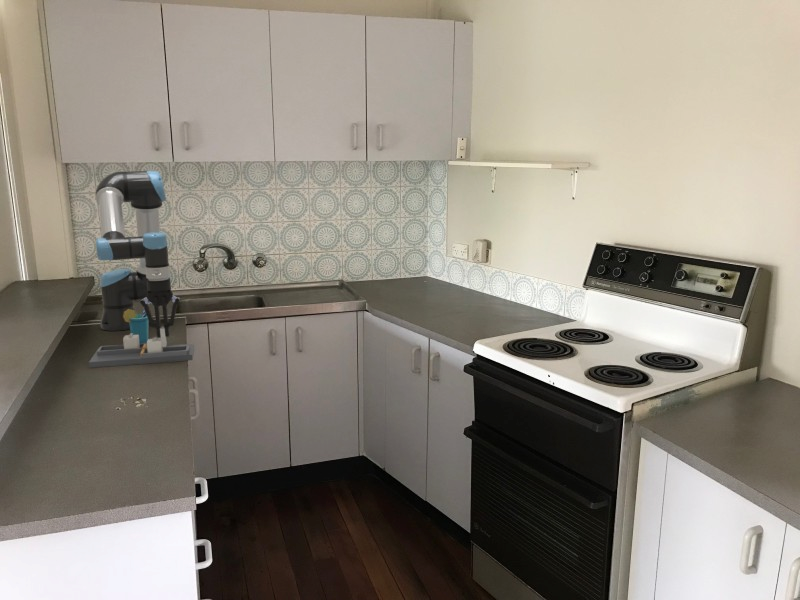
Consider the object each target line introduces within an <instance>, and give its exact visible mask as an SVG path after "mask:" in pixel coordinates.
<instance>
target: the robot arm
mask: <svg viewBox="0 0 800 600" xmlns="http://www.w3.org/2000/svg"><path fill="white" fill-rule="evenodd" d="M166 200H167V197H166V192H165V187H164V182H163V179H162V174H161V173H160V172H158V171H156V170H155V171H154V170H137V171H135V170H133V171H132V170H131V171H129V170H127V171H123V170H122V171H121V170H120V171H115V172H112V173H109V174H108V175H106V176H105V177H104V178H103V179H101V181H100V182H99V184H98V185H97V187H96V189H95V201H96V203H97V205H98V206H99V220H100V232H101V238H97V239H96V240H95V249H96V257H97V259H98V260H100V261H119V260H132V259H135V260H136V259H139V264H138V266H137V267H136V272H135V271H133V272H132V270H131V269H130V268H119V269H115V270H110V271H107V272H104V273H103V274H102V275H101V276H100V288H101V297H102V305H103V306H102V307H103V309H102V315H101V318H100V330H103V331H109V332H110V331H111V332H115V331H116V332H117V331H125V330H130V325H129V322H125V321H124V319H123V314H124V312H125V311H126V310H128V309H131V310H135V312H136V314H138V312H137V311H136V308H135V301H139V303H140V305H141V306H142V307H143V310H144V309H145V314H147V317H148V320H149V325H150V328H155V329H156V337H157V338H161V346H162V347H166V346H168V345H167V344H168V343H167V338H168V337H169V335H170V329H169V327H173V325H174V323H175V318H176V313H177V307H178V304H179V302H180V300H181V298H180V297H179V296H178V297H177V296H175V295H174V293H173V291H172V285H171V281H172V280H171V278H172V277H171V271H170V263H169V251H168V238H167V234H166V233H164V232H161V227H160V226H161V225H160V213H159V212H160V209H161V208H162V206H163V202H165V201H166ZM123 203H130V207H131V208H133V210H134V211H135V222H136V230H137V236H126V233H125V232H126V231H125V225H124V215H123V206H122V205H123ZM171 300H172V301H171ZM170 301H171V302H172V303H173V304H172V307H171V313H170V314H171V315H170V320H169V315H168V313H169V312H168V305H169V303H170ZM148 302H151V303H152V304H151V305H153V306H154V315H155V317H153V314H152V311H151V309H150V306H149V305H148ZM160 306H161V307H162V317H163V326H161V325H162V324H161V313H160ZM154 318H155V320H154Z"/></svg>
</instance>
